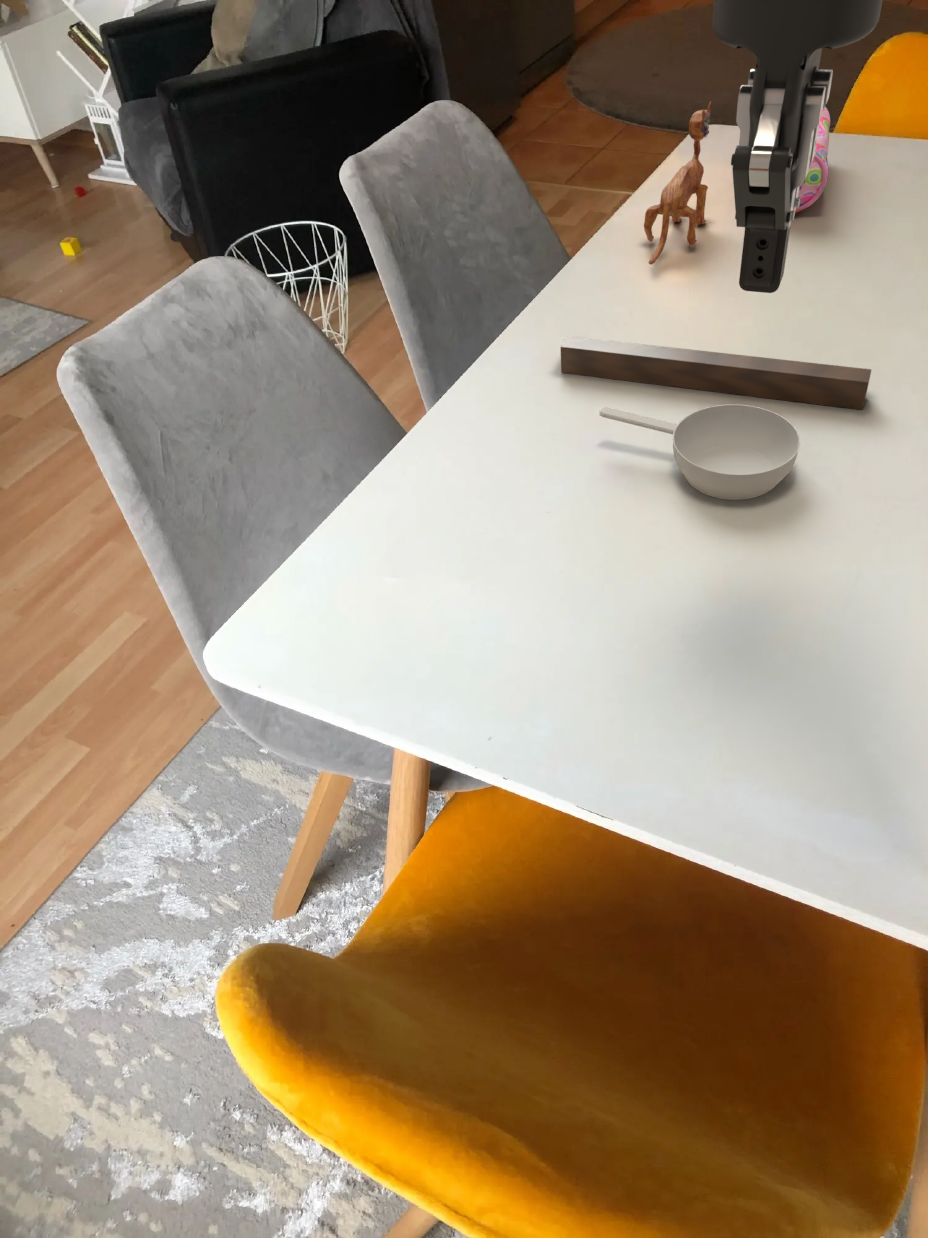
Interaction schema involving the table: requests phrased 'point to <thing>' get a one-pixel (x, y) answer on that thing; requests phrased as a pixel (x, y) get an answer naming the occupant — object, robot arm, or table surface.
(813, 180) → the pencil case
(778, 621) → the table surface
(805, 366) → the walnut rail
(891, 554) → the table surface
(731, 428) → the saucepan
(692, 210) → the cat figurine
